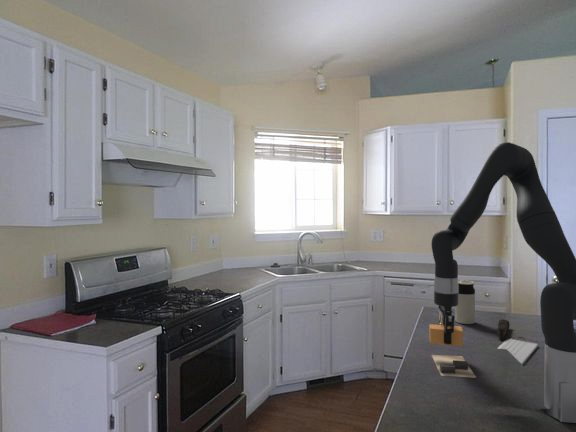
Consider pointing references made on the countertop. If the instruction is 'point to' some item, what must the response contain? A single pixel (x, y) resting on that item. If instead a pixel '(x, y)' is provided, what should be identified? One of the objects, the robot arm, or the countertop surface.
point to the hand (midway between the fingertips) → (445, 340)
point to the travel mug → (465, 303)
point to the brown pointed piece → (502, 328)
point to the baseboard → (519, 348)
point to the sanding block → (438, 335)
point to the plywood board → (449, 360)
